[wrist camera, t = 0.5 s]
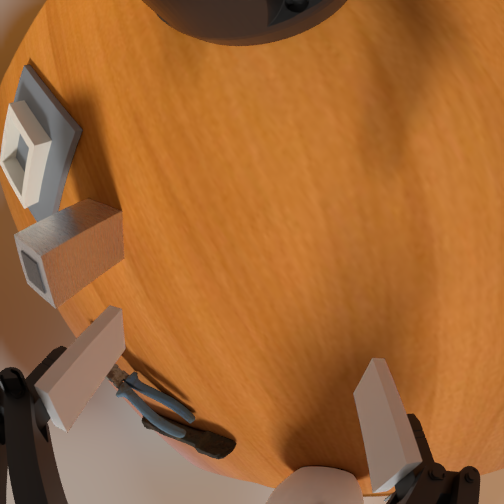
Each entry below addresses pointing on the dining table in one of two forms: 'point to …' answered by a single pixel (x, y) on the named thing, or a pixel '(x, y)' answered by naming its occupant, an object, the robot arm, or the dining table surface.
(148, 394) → the pliers
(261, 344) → the dining table surface
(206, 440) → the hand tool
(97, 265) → the tall square post
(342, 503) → the pitcher
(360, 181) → the dining table surface
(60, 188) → the cradle
